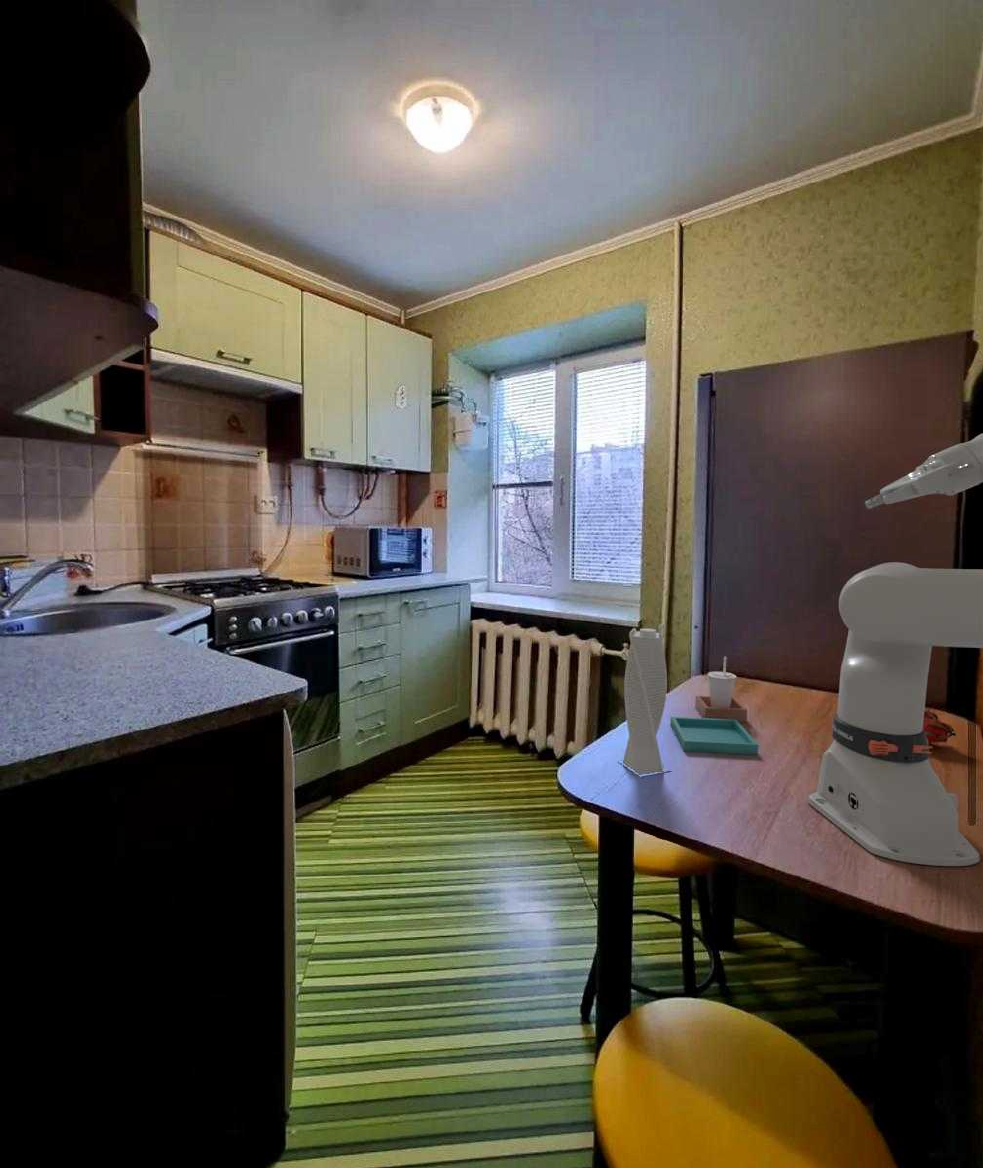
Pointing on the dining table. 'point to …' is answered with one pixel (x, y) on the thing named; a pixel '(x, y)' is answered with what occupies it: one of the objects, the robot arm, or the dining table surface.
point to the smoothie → (721, 687)
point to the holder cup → (721, 710)
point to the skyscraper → (645, 699)
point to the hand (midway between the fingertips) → (875, 503)
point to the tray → (713, 736)
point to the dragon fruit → (936, 728)
